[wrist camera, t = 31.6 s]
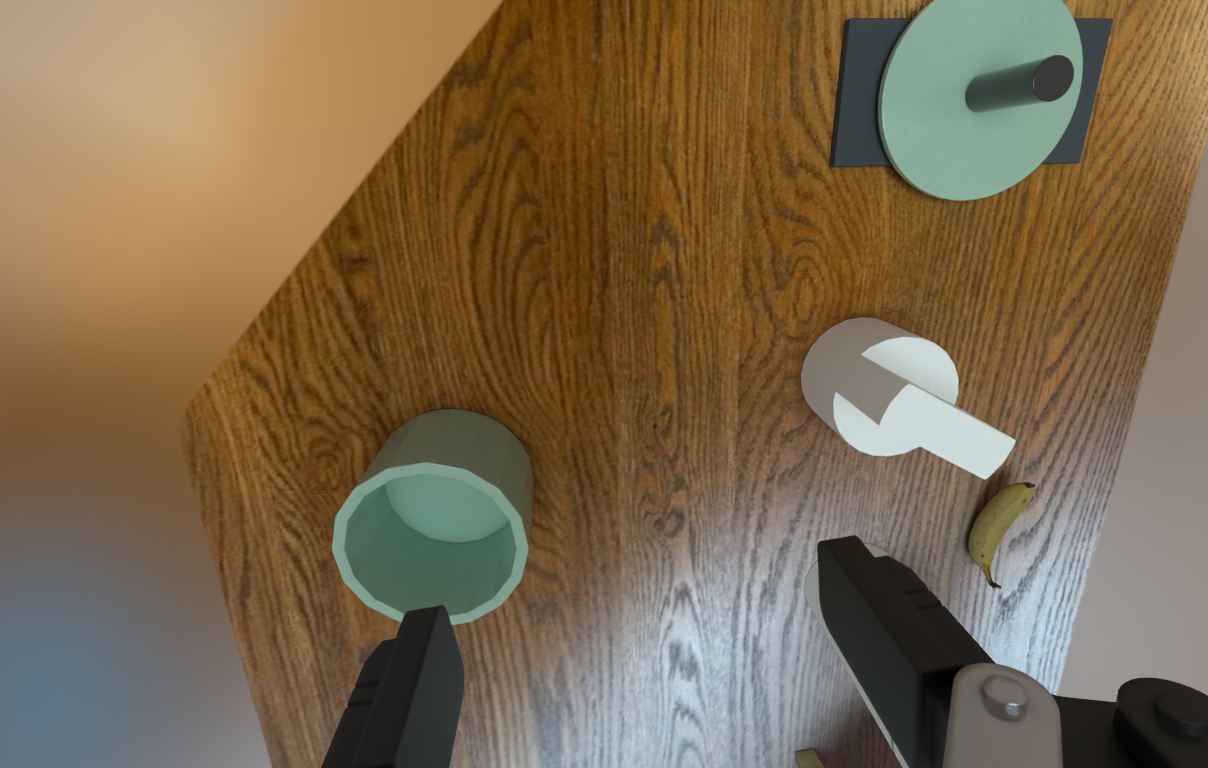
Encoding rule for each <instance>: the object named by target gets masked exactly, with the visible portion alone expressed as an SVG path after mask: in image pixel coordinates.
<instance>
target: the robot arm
mask: <svg viewBox="0 0 1208 768" xmlns="http://www.w3.org/2000/svg"><path fill="white" fill-rule="evenodd" d="M817 553H818V579H819V601H820V607H821V612H822V615H823V619H824V621H825V624H826V626H827V629H828V631H829V632H830V634H831V636H832V638H833V639H834V641H835V643H836V644H837V646H838V648H839V649H840V651H841V653H842V655H843V656H844V658H845V660H846V661H847V663H848V665H849V666H850V668H851V670H852V672H853V673H854V675H855V677H856V678H857V680H858V682H859V683H860V685H861V687H862V689H863V690H864V692H865V694H866V695H867V697H868V699H869V700H870V702H871V704H872V706H873V707H874V709H875V711H876V712H877V714H878V716H879V717H880V719H881V721H882V723H883V724H884V726H885V728H886V729H887V731H888V733H889V734H890V736H891V738H892V740H893V741H894V743H895V745H896V746H897V748H898V750H899V751H900V753H901V755H902V757H903V758H904V760H905V762H906V763H907V765H908V767H909V768H1208V696H1207V695H1205V694H1203V693H1202V692H1200V691H1197V690H1195V689H1193V688H1191V687H1188V686H1185V685H1182V684H1179V683H1176V682H1172V681H1169V680H1164V679H1158V678H1137V679H1133V680H1130V681H1128V682H1125V683H1124V684H1123V685H1122V686H1121V687H1120V689H1119V690H1118V695H1117V700H1116V702H1107V701H1097V700H1087V699H1078V698H1068V697H1061V696H1056V695H1052V694H1050V693H1049V692H1048V690H1047V689H1046V688H1045V687H1043V686H1042V685H1041V684H1040V683H1039V682H1037V681H1036V680H1034V679H1033V678H1032V677H1030V676H1028V675H1026V674H1024V673H1023V672H1020V671H1018V670H1016V669H1013V668H1010V667H1007V666H1003V665H999V664H996V663H995V662H994V661H993V660H992V659H991V658H990V657H989V656H988V654H987V653H986V652H985V651H984V650H983V649H982V648H981V647H980V645H979V644H978V643H977V642H976V641H975V640H974V639H973V638H972V637H971V635H970V634H969V633H968V632H967V631H966V630H965V629H964V628H963V626H962V625H961V624H960V623H959V622H958V621H957V620H956V619H955V618H954V616H953V615H952V614H951V613H950V612H949V611H948V610H947V609H946V607H945V606H943V607H942V605H941V602H940V601H939V600H938V599H937V597H936V596H935V595H934V594H933V593H932V592H931V591H928V588H927V586H926V585H925V584H924V583H923V582H922V581H921V580H920V578H919V577H918V576H917V575H916V574H915V573H914V572H913V571H912V569H910V568H908V567H907V566H905V565H903V564H901V563H900V562H898V561H896V560H895V559H893V558H891V557H890V556H888V555H886V556H881V557H874V556H873V554H872V553H871V552H870V551H869V550H868V548H867V547H866V546H865V545H864V544H863V542H862V541H861V540H860V539H859V538H858V537H857V536H855V535H854V536H848V537H842V538H836V539H830V540H824V541H820V542H819V543H818V548H817ZM355 685H356V688H355V689H353V692H352V694H351V697H350V699H349V701H348V708H346V709H345V711H344V713H343V716H342V718H341V721H340V723H339V726H338V728H337V730H336V733H335V735H334V738H333V740H332V742H331V745H330V747H329V750H328V752H327V755H326V757H325V759H324V762H323V764H322V767H321V768H449V766H450V760H451V755H452V750H453V745H454V740H455V735H456V730H457V725H458V720H459V714H460V709H461V704H462V699H463V694H464V667H463V662H462V658H461V655H460V651H459V648H458V645H457V641H456V638H455V635H454V631H453V628H452V625H451V621H450V618H449V615H448V612H447V609H446V608H445V606H444V605H439V606H433V607H428V608H422V609H416V610H410V611H407V612H406V613H405V615H404V617H403V620H402V623H401V625H400V628H399V631H398V634H397V636H396V639H392V640H386V641H382V642H381V644H380V645H379V646H378V647H377V648H376V649H375V651H374V652H373V653H372V654H371V655H370V657H369V658H368V659H367V660H366V661H365V663H364V665H363V668H362V670H361V672H360V675H359V677H358V680H357V682H356V684H355Z"/></svg>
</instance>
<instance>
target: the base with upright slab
mask: <svg viewBox="0 0 1208 768" xmlns="http://www.w3.org/2000/svg"><path fill="white" fill-rule="evenodd" d="M801 387H802V392H803V394H804V397H805V400H806V402H807V403H808V405H809V406H810V407H811V408H812V410H813V411H814V412H815V413H816V414H817V415H818V416H819V417H820V418H821V419H822V420H824V421H825V422H826V423H827V424H828V425H829V426H830V427H831V428H832V429H833V430H834V431H835V432H836V433H838V434H839V435H840V436H841V437H842V438H843V439H844V440H845V441H846V442H847V443H849V444H850V445H852V446H853V447H854V448H856V449H857V450H859V451H861V452H864V453H867V454H870V455H875V456H892V455H898V454H903V453H906V452H908V451H911V450H913V449H915V448H918V447H922V448H924V449H926V450H928V451H930V452H932V453H934V454H936V455H938V456H940V457H942V458H944V459H946V460H948V461H949V462H951V463H953V464H955V465H957V466H959V467H961V468H963V469H965V470H967V471H969V472H971V473H973V474H975V475H977V476H979V477H981V478H983V479H987V478H988V477H990V476H991V475H992V474H993V473H994V472H995V471H996V470H997V469H998V467H999V466H1000V465H1001V464H1002V463H1003V462H1004V461H1005V459H1006V458H1007V456H1008V454H1009V453H1010V451H1011V450H1012V448H1013V446H1014V444H1015V441H1016V440H1014V439H1012V438H1011V437H1009V436H1007V435H1005V434H1004V433H1002V432H1000V431H999V430H997V429H995V428H993V427H992V426H990V425H988V424H986V423H985V422H983V421H981V420H979V419H978V418H976V417H974V416H972V415H971V414H969V413H967V412H966V411H964V410H962V409H960V408H959V407H957V406H955V402H956V399H957V396H958V376H957V372H956V369H955V365H954V363H953V362H952V360H951V359H950V357H949V356H948V354H947V353H946V352H945V351H944V350H943V349H941V348H940V347H939V346H938V345H936V344H935V343H933V342H931V341H929V340H926V339H924V338H922V337H919V336H917V335H915V334H913V333H910V332H908V331H906V330H904V329H901V328H899V327H897V326H894V325H892V324H890V323H887V322H885V321H882V320H879V319H877V318H866V317H860V318H855V319H849V320H846V321H843V322H841V323H839V324H837V325H835V326H832V327H831V328H830V329H829V330H827V331H826V332H825V333H823V334H822V335H821V336H820V337H819V338H818V339H817V340H816V342H815V343H814V344H813V345H812V347H811V348H810V350H809V352H808V354H807V356H806V358H805V360H804V363H803V367H802V372H801Z"/></svg>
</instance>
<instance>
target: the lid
mask: <svg viewBox="0 0 1208 768" xmlns="http://www.w3.org/2000/svg"><path fill="white" fill-rule="evenodd" d="M1082 73H1083V55H1082V45H1081V40H1080V35H1079V32H1078V29H1077V26H1076V23H1075V21H1074V19H1073V17H1072V15H1071V13H1070V11H1069V9H1068V8H1067V7H1066V5H1065V4H1064V2H1063V1H1062V0H932V1H931V2H930V3H928V4H927V5H926V6H925V7H924V8H923V9H922V10H921V11H920V12H919V13H918V14H917V15H916V16H915V17H914V19H913V20H912V21H911V22H910V23H909V24H908V26H907V27H906V29H905V30H904V32H903V33H902V34H901V36H900V37H899V39H898V41H897V43H896V45H895V46H894V48H893V50H892V52H891V54H890V57H889V59H888V62H887V64H886V67H885V70H884V73H883V77H882V80H881V85H880V91H879V97H878V125H879V130H880V136H881V140H882V143H883V146H884V149H885V152H886V154H887V156H888V158H889V160H890V162H891V163H892V165H893V166H894V168H895V169H896V171H897V172H898V173H899V174H900V176H901V177H902V178H903V179H904V180H905V181H906V182H908V183H909V184H910V185H911V186H913V187H914V188H915V189H917V190H919V191H921V192H923V193H924V194H927V195H930V196H932V197H935V198H940V199H945V200H957V201H966V200H976V199H980V198H985V197H989V196H991V195H994V194H997V193H999V192H1002V191H1004V190H1006V189H1008V188H1009V187H1011V186H1013V185H1015V184H1016V183H1018V182H1019V181H1021V180H1022V179H1024V178H1025V177H1026V176H1028V175H1029V174H1030V173H1031V172H1032V171H1034V170H1035V169H1036V168H1037V167H1038V166H1039V165H1040V164H1041V163H1042V162H1043V161H1044V160H1045V159H1046V158H1047V156H1048V155H1049V154H1050V153H1051V151H1052V150H1053V149H1054V148H1055V146H1056V145H1057V143H1058V142H1059V140H1060V138H1061V137H1062V135H1063V134H1064V132H1065V130H1066V128H1067V126H1068V124H1069V122H1070V120H1071V117H1072V115H1073V112H1074V110H1075V107H1076V104H1077V100H1078V97H1079V93H1080V88H1081V82H1082Z"/></svg>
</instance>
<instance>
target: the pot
mask: <svg viewBox="0 0 1208 768" xmlns="http://www.w3.org/2000/svg"><path fill="white" fill-rule="evenodd" d="M534 489H535V482H534V476H533V469H532V465H531V462H530V458H529V456H528V454H527V452H526V450H525V448H524V447H523V445H522V444H521V442H520V441H519V440H518V439H517V437H516V436H515V435H514V434H513V433H512V432H511V431H510V430H508V429H507V428H506V427H505V426H503V425H502V424H500V423H499V422H497V421H496V420H494V419H492V418H490V417H488V416H485V415H483V414H480V413H477V412H473V411H469V410H461V409H442V410H435V411H430V412H426V413H424V414H421V415H418V416H416V417H414V418H412V419H410V420H408V421H407V422H405V423H404V424H403V425H401V426H400V427H399V428H398V429H396V430H395V431H393V432H392V434H391V435H390V437H389V438H388V440H387V441H386V442H385V444H384V445H383V447H382V448H381V450H380V451H379V453H378V454H377V456H376V457H375V459H374V460H373V462H372V463H371V464H370V466H369V467H368V469H367V470H366V472H365V473H364V475H363V476H362V478H361V479H360V481H359V482H358V484H357V485H356V486H355V488H354V489H353V491H352V492H351V494H350V495H349V497H348V498H347V500H346V501H345V503H344V504H343V506H342V507H341V509H340V510H339V512H338V513H337V515H336V517H335V525H334V534H333V542H332V552H333V554H334V557H335V560H336V563H337V565H338V568H339V571H340V573H341V576H342V579H343V580H344V582H345V583H346V584H347V585H348V587H349V588H350V589H351V590H352V591H353V592H354V593H355V594H356V595H357V596H358V597H359V598H360V599H361V600H362V601H363V602H364V603H365V604H366V605H367V606H368V607H370V608H372V609H374V610H376V611H378V612H380V613H382V614H384V615H386V616H388V617H390V618H392V619H394V620H396V621H398V622H402V620H403V617H404V615H405V613H406V612H407V611H410V610H416V609H422V608H428V607H433V606H439V605H444V606H445V608H446V609H447V612H448V615H449V618H450V621H451V625H455V624H461V623H466V622H471V621H474V620H475V619H477V618H479V617H481V616H482V615H484V614H486V613H488V612H490V611H491V610H493V609H495V608H497V607H499V606H500V605H502V604H503V602H504V601H505V600H506V599H507V597H508V596H509V595H510V594H511V592H512V591H513V590H514V589H515V587H516V586H517V585H518V584H519V582H520V581H521V579H522V576H523V572H524V568H525V563H526V559H527V555H528V551H529V542H530V531H531V521H532V510H533V500H534Z"/></svg>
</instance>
